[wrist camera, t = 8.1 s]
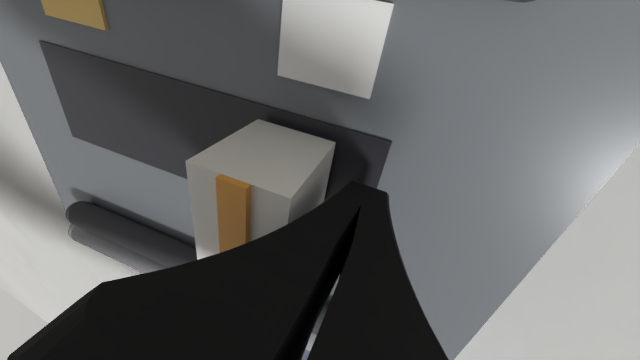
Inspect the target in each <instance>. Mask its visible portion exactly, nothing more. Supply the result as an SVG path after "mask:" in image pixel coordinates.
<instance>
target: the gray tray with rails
mask: <svg viewBox="0 0 640 360" xmlns="http://www.w3.org/2000/svg"><path fill="white" fill-rule="evenodd" d="M506 1H512V2H522V3H525V2H532V1H535V0H506ZM66 218H67V220H68V221H69V222H71V223H72V224H71V225H70V227H69V230H68V233H69V236H70V237H71V238H72V239H73V240H75V241H77V242H79V243H81V244H83V245H86V246H88V247H90V248H92V249H94V250H96V251H98V252H100V253H103V254H105V255H107V256H109V257H111V258H113V259H115V260H117V261H119V262H122V263H124V264H126V265H128V266H130V267H132V268H134V269H136V270H139V271H141V272H143V273H148V272H153V271H157V270H162V269H166V268H170V267H174V266H178V265H181V264H185V263H188V262H192V261H195V260H197V253H196V248H195V247H193V246H191V245H188V244H186V243H184V242H181V241H179V240H177V239H174V238H172V237H170V236H167V235H165V234H163V233H160V232H158V231H156V230H153V229H151V228H149V227H146V226H144V225H142V224H139V223H137V222H135V221H132V220H130V219H128V218H125V217H123V216H121V215H118V214H116V213H114V212H111V211H109V210H107V209H104V208H102V207H100V206H97V205H95V204H93V203H90V202H87V201H78V202H75V203H73V204H71V205H70V206H69V207H68V208H67V210H66ZM328 306H329V305H328V304H326V303H325V305H324V307H323V309H322V311H321V313H320V316H319V318H318V320H317V322H316V324H315V327H314V329H313V331H312V333H311V336H310V339H309V341H308V344H307V346H306V350H308V351H311V348H312V346H313V343H314V341H315V338H316V336H317V333H318V331H319V328H320V326H321V323H322V321H323V319H324V316H325V314H326V311H327V309H328Z"/></svg>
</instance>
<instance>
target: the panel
mask: <svg viewBox="0 0 640 360" xmlns="http://www.w3.org/2000/svg"><path fill="white" fill-rule="evenodd" d="M0 61H1V64H2V66H3V68H4V70H5V73H6V75H7V77H8V80H9V82H10V84H11V87H12V89H13V91H14V93H15V96H16V98H17V100H18V103H19V105H20V107H21V109H22V112H23V114H24V116H25V119H26V121H27V123H28V125H29V128H30V130H31V132H32V135H33V137H34V139H35V141H36V144H37V146H38V148H39V151H40V153H41V155H42V157H43V160H44V162H45V164H46V167H47V169H48V171H49V174H50V176H51V178H52V180H53V183H54V185H55V187H56V190H57V192H58V194H59V196H60V199H61V201H62V203H63V206H64V208H65V210H67V208H68V207H69V206H70V205H71V204H73V203H75V202H78V201H87V202H90V203H93V204H95V205H97V206H100V207H102V208H104V209H107V210H109V211H111V212H114V213H116V214H118V215H121V216H123V217H125V218H128V219H130V220H132V221H135V222H137V223H139V224H142V225H144V226H146V227H149V228H151V229H153V230H156V231H158V232H160V233H163V234H165V235H167V236H170V237H172V238H174V239H177V240H179V241H181V242H184V243H186V244H188V245H191V246H193V247H195V248H196V245H195V236H194V228H193V220H192V212H191V203H190V195H189V187H188V179H187V170H186V162H185V161H186V160H188V159H190V158H191V157H193V156H195V155H197V154H198V153H200V152H202V151H204V150H205V149H207V148H209V147H211V146H212V145H214V144H216V143H217V142H219V141H221V140H223V139H224V138H226V137H228V136H230V135H231V134H233V133H235V132H237V131H238V130H240V129H242V128H244V127H245V126H247V125H249V124H250V123H252V122H254V121H256V120H257V119H260V120H263V121H267V122H270V123H273V124H277V125H280V126H283V127H287V128H290V129H293V130H297V131H300V132H303V133H306V134H310V135H313V136H316V137H320V138H323V139H326V140H330V141H333V142H336V145H335V149H334V154H333V159H332V164H331V169H330V174H329V179H328V183H327V188H326V193H325V198H324V201H326V200H327V199H329V198H330V197H331V196H333V195H334V194H335V193H337V192H338V191H339V190H341V189H342V188H343V187H344V186H345V185H346V184H347V183H349V182H351V181H354V182H358V183H361V184H364V185H367V186H370V187H373V188H376V189H379V190H382V191H385V192H387V193H388V195H389V206H390V213H391V219H392V224H393V229H394V233H395V237H396V241H397V244H398V248H399V251H400V254H401V257H402V260H403V263H404V266H405V269H406V272H407V275H408V277H409V280H410V282H411V285H412V287H413V289H414V292H415V294H416V296H417V299H418V301H419V303H420V305H421V307H422V310H423V312H424V314H425V316H426V318H427V320H428V322H429V324H430V326H431V328H432V330H433V332H434V334H435V335H436V337H437V339H438V341H439V343H440V345H441V346H442V348H443V350H444V352H445V354H446V356H447V358H448V359H449V360H454V359H455V358H456V356H457V355H458V354H459V353H460V352H461V351H462V349H463V348H464V347H465V346H466V345H467V344H468V342H469V341H470V340H471V339H472V338H473V337H474V335H475V334H476V333H477V332H478V331H479V330H480V328H481V327H482V326H483V325H484V324H485V323H486V321H487V320H488V319H489V318H490V317H491V316H492V315H493V313H494V312H495V311H496V310H497V309H498V308H499V306H500V305H501V304H502V303H503V302H504V301H505V299H506V298H507V297H508V296H509V295H510V294H511V292H512V291H513V290H514V289H515V288H516V287H517V285H518V284H519V283H520V282H521V281H522V280H523V278H524V277H525V276H526V275H527V274H528V273H529V271H530V270H531V269H532V268H533V267H534V266H535V264H536V263H537V262H538V261H539V260H540V259H541V258H542V256H543V255H544V254H545V253H546V252H547V251H548V249H549V248H550V247H551V246H552V245H553V244H554V242H555V241H556V240H557V239H558V238H559V237H560V235H561V234H562V233H563V232H564V231H565V230H566V228H567V227H568V226H569V225H570V224H571V223H572V221H573V220H574V219H575V218H576V217H577V216H578V214H579V213H580V212H581V211H582V210H583V209H584V208H585V206H586V205H587V204H588V203H589V202H590V201H591V199H592V198H593V197H594V196H595V195H596V194H597V192H598V191H599V190H600V189H601V188H602V187H603V185H604V184H605V183H606V182H607V181H608V180H609V178H610V177H611V176H612V175H613V174H614V173H615V171H616V170H617V169H618V168H619V167H620V166H621V164H622V163H623V162H624V161H625V160H626V159H627V157H628V156H629V155H630V154H631V153H632V152H633V151H634V149H635V148H636V147H637V146H638V145H639V144H640V0H535V1H532V2H525V3H522V2H512V1H506V0H0ZM339 276H340V275H339ZM338 280H339V277H338V279H337V281H336V283H335V285H334V287H333V289H332V291H331V293H330V295H329V297H328V299H327V301H326V304H328V305H329V304H330V301H331V298H332V296H333V293H334V291H335V288H336V286H337V283H338Z"/></svg>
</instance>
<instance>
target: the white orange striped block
mask: <svg viewBox="0 0 640 360" xmlns="http://www.w3.org/2000/svg"><path fill="white" fill-rule="evenodd" d="M335 145H336V142H333V141H330V140H326V139H323V138H320V137H316V136H313V135H310V134H306V133H303V132H300V131H297V130H293V129H290V128H287V127H283V126H280V125H277V124H273V123H270V122H267V121H263V120H260V119H257V120H256V121H254V122H252V123H250V124H249V125H247V126H245V127H244V128H242V129H240V130H238V131H237V132H235V133H233V134H231V135H230V136H228V137H226V138H224V139H223V140H221V141H219V142H217V143H216V144H214V145H212V146H211V147H209V148H207V149H205V150H204V151H202V152H200V153H198V154H197V155H195V156H193V157H191V158H190V159H188V160H186V161H185V162H186V170H187V179H188V187H189V195H190V203H191V212H192V220H193V228H194V236H195V245H196V253H197V260H199V259H202V258H205V257H208V256H211V255H215V254H218V253H221V252H224V251H227V250H230V249H232V248H235V247H238V246H240V245H243V244H245V243H248V242H250V241H253V240H255V239H257V238H260V237H262V236H264V235H267V234H269V233H271V232H273V231H275V230H277V229H279V228H281V227H283V226H285V225H287V224H289V223H291V222H293V221H294V220H296V219H298V218H299V217H301V216H303V215H304V214H306V213H308V212H309V211H311V210H313V209H314V208H316V207H317V206H319V205H320V204H322V203H323V202H324V198H325V193H326V188H327V183H328V179H329V174H330V169H331V164H332V159H333V154H334V149H335Z"/></svg>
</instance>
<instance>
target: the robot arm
mask: <svg viewBox="0 0 640 360" xmlns="http://www.w3.org/2000/svg"><path fill="white" fill-rule="evenodd" d="M339 275H340V276H339ZM338 277H339V280H338V283H337V286H336V288H335V291H334V293H333V296H332V298H331V301H330V304H329V306H328V309H327V311H326V314H325V316H324V319H323V321H322V323H321V326H320V328H319V331H318V333H317V336H316V338H315V341H314V343H313V346H312V348H311V351H308V350H306V346H307V344H308V341H309V339H310V336H311V333H312V331H313V329H314V327H315V324H316V322H317V320H318V318H319V316H320V313H321V311H322V309H323V307H324V305H325V303H326V301H327V299H328V297H329V295H330V293H331V291H332V289H333V287H334V285H335V283H336V281H337V279H338ZM7 360H449V359H448V358H447V356H446V354H445V352H444V350H443V348H442V346H441V345H440V343H439V341H438V339H437V337H436V335H435V334H434V332H433V330H432V328H431V326H430V324H429V322H428V320H427V318H426V316H425V314H424V312H423V310H422V307H421V305H420V303H419V301H418V299H417V296H416V294H415V292H414V289H413V287H412V285H411V282H410V280H409V277H408V275H407V272H406V269H405V266H404V263H403V260H402V257H401V254H400V251H399V248H398V244H397V241H396V237H395V233H394V229H393V224H392V219H391V213H390V206H389V195H388V193H387V192H385V191H382V190H379V189H376V188H373V187H370V186H367V185H364V184H361V183H358V182H354V181H351V182H349V183H347V184H346V185H345V186H344V187H343V188H342V189H341V190H339V191H338V192H337V193H335V194H334V195H333V196H331V197H330V198H329V199H327V200H326V201H324V202H323V203H322V204H320V205H319V206H317V207H316V208H314V209H313V210H311V211H309V212H308V213H306V214H304V215H303V216H301V217H299V218H298V219H296V220H294V221H293V222H291V223H289V224H287V225H285V226H283V227H281V228H279V229H277V230H275V231H273V232H271V233H269V234H267V235H264V236H262V237H260V238H257V239H255V240H253V241H250V242H248V243H245V244H243V245H240V246H238V247H235V248H232V249H230V250H227V251H224V252H221V253H218V254H215V255H211V256H208V257H205V258H202V259H199V260H195V261H192V262H188V263H185V264H181V265H178V266H174V267H170V268H166V269H162V270H157V271H153V272H148V273H144V274H140V275H135V276H131V277H126V278H122V279H117V280H112V281H107V282H102V283H101V284H99V285H98V286H97V287H95V288H94V289H92V290H91V291H90V292H88V293H87V294H86V295H84V296H83V297H82V298H80V299H79V300H78V301H76V302H75V303H74V304H73V305H71V306H70V307H69V308H68V309H66V310H65V311H64V312H63V313H61V314H60V315H59V316H58V317H56V318H55V319H54V320H53V321H51V322H50V323H49V324H48V325H46V326H45V327H44V328H43V329H41V330H40V331H39V332H38V333H37V334H35V335H34V336H33V337H32V338H30V339H29V340H28V341H27V342H25V343H24V344H23V345H21V346H20V347H19V348H18V349H17V350H15V351H14V352H13V353H11V354H10V355H9V357H8V359H7Z"/></svg>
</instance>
